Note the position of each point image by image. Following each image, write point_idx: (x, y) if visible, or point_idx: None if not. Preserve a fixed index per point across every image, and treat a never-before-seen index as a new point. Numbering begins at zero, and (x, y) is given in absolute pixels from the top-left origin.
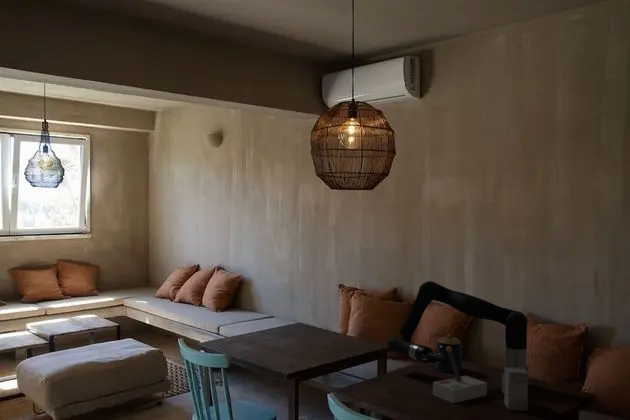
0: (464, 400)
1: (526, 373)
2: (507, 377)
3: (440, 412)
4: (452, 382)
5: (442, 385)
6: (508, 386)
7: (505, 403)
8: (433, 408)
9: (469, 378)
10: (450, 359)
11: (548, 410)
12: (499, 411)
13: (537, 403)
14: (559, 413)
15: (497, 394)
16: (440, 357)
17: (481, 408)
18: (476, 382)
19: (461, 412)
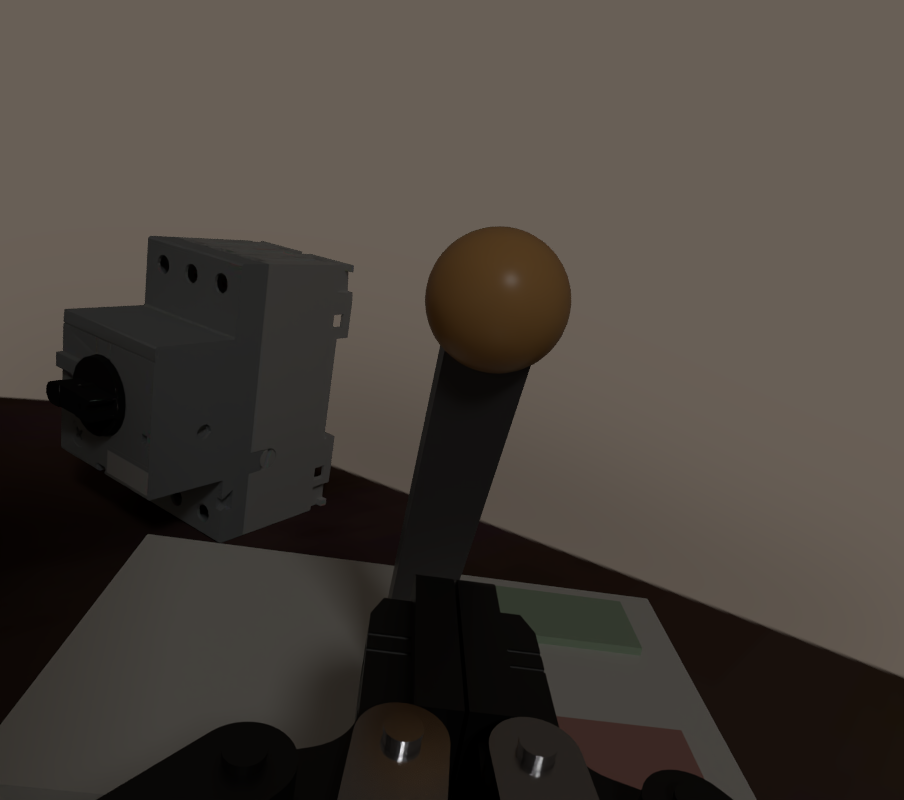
0: None
1: (271, 246)
2: (318, 316)
3: (816, 665)
4: None
5: (699, 709)
6: (332, 367)
7: (260, 518)
8: (856, 729)
9: (115, 678)
10: (493, 472)
11: None
12: (404, 517)
13: (59, 461)
14: None
15: (17, 622)
16: (449, 755)
17: (469, 573)
18: (225, 581)
19: (655, 603)
